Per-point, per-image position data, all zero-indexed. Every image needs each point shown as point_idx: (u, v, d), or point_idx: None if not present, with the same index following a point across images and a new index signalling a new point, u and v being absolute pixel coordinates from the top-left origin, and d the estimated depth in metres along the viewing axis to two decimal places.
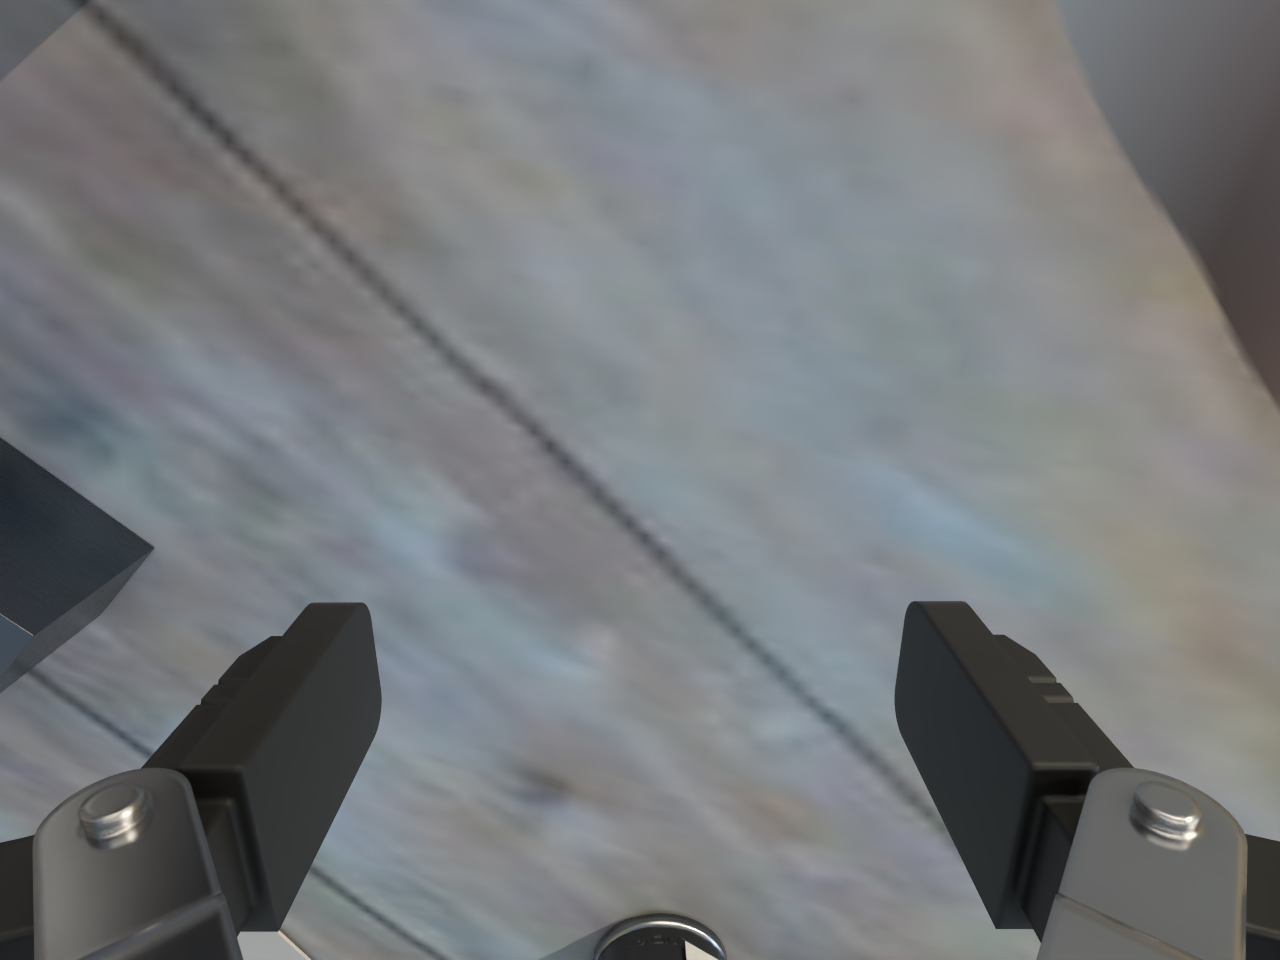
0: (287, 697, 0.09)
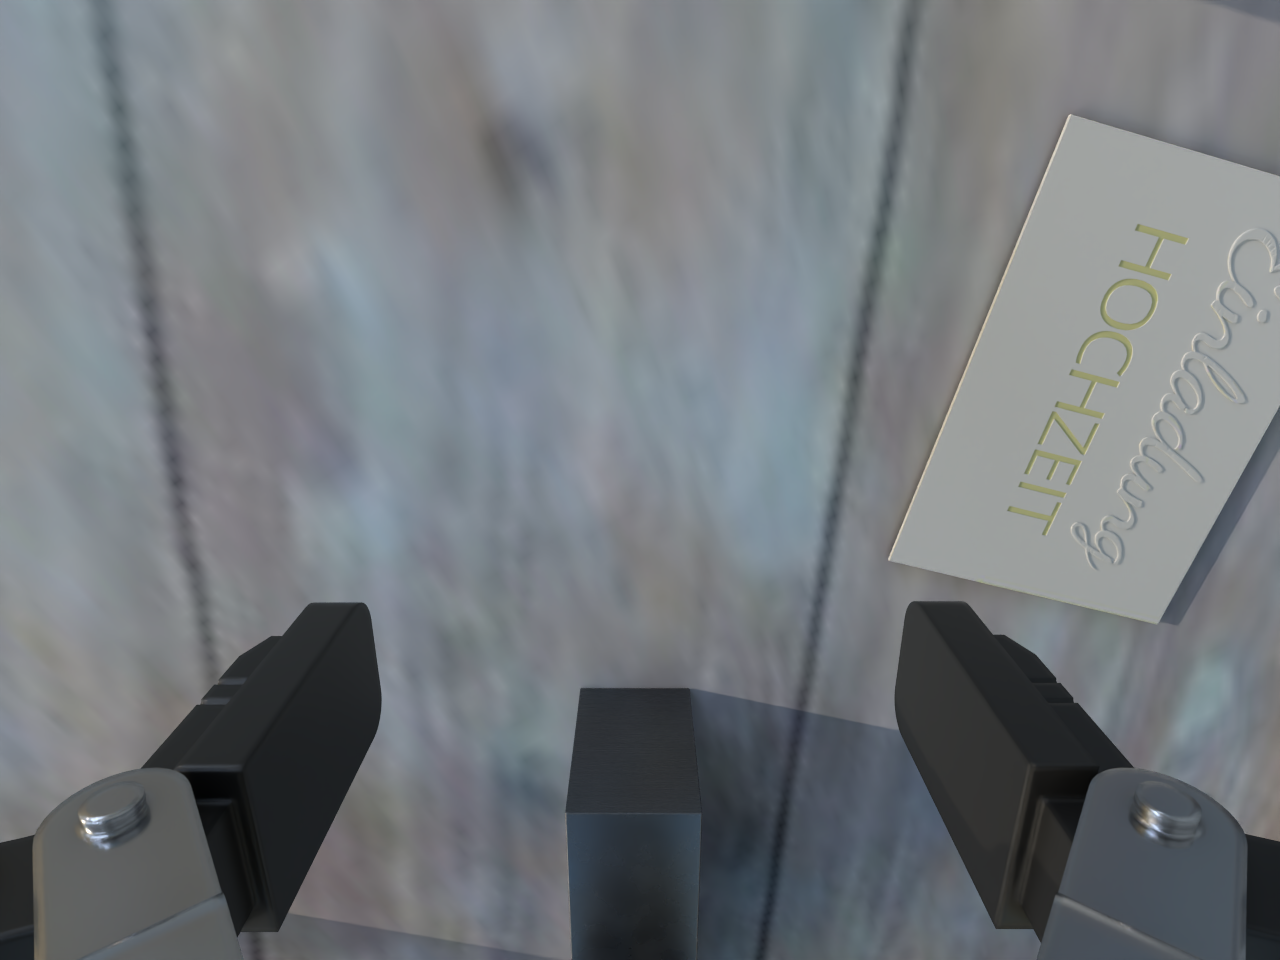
0: (287, 698, 0.09)
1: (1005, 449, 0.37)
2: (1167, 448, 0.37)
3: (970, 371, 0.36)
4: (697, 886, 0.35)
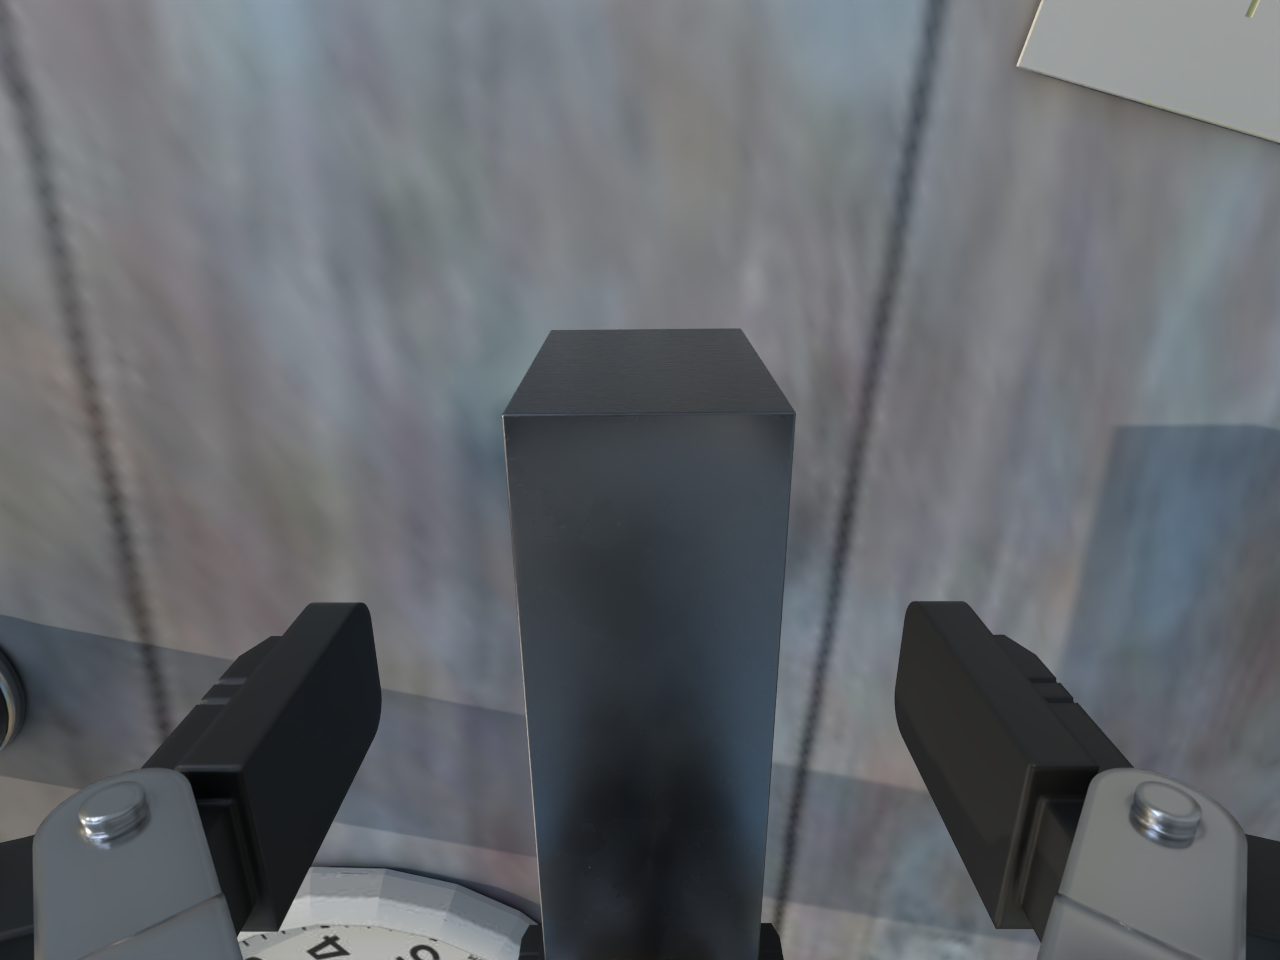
0: (287, 697, 0.09)
1: None
2: None
3: None
4: (779, 594, 0.17)
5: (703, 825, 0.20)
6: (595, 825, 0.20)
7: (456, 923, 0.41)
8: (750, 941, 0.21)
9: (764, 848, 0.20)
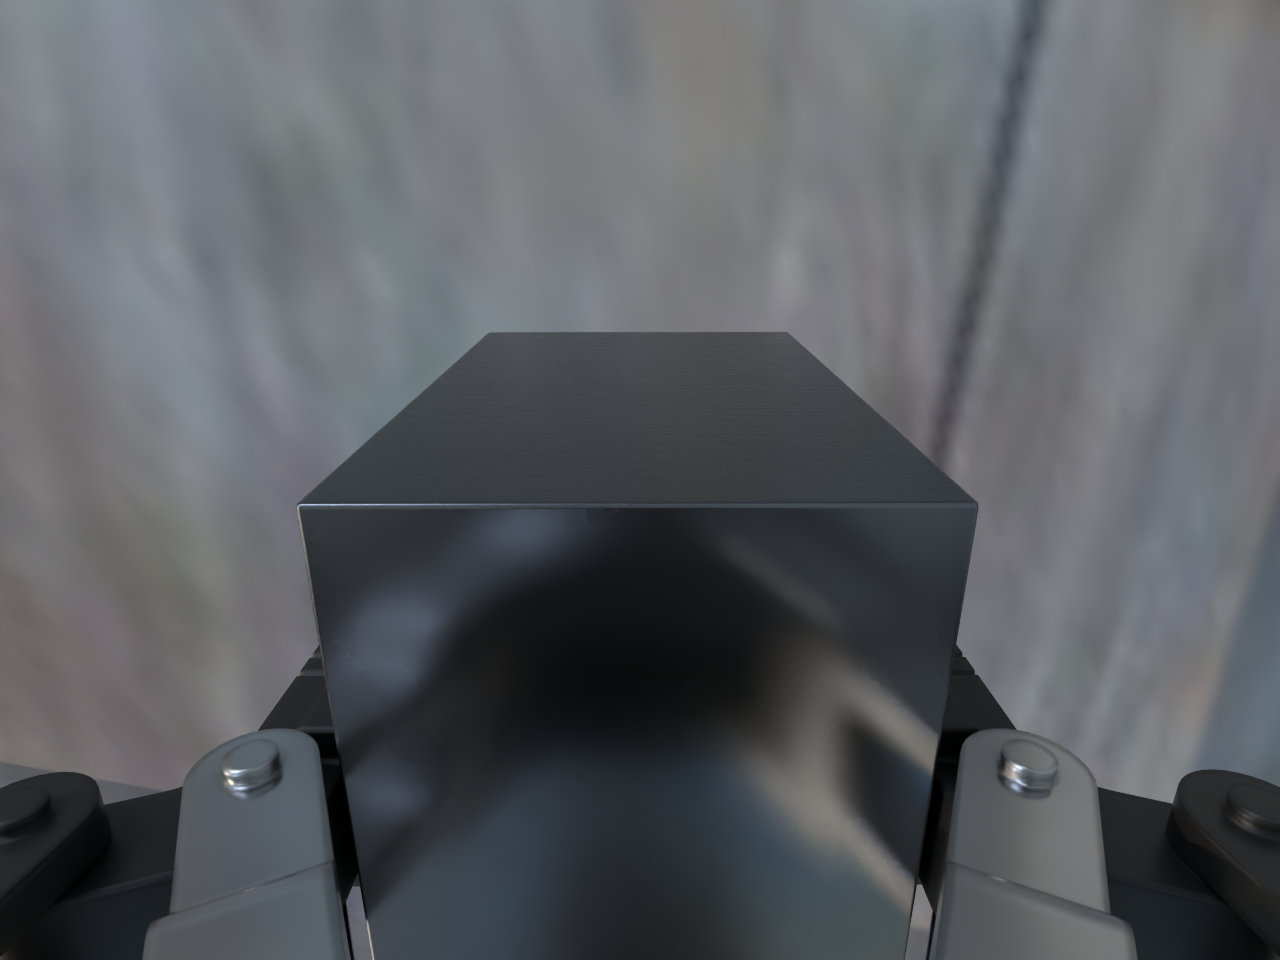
0: None
1: None
2: None
3: None
4: (912, 872, 0.08)
5: None
6: None
7: None
8: None
9: None
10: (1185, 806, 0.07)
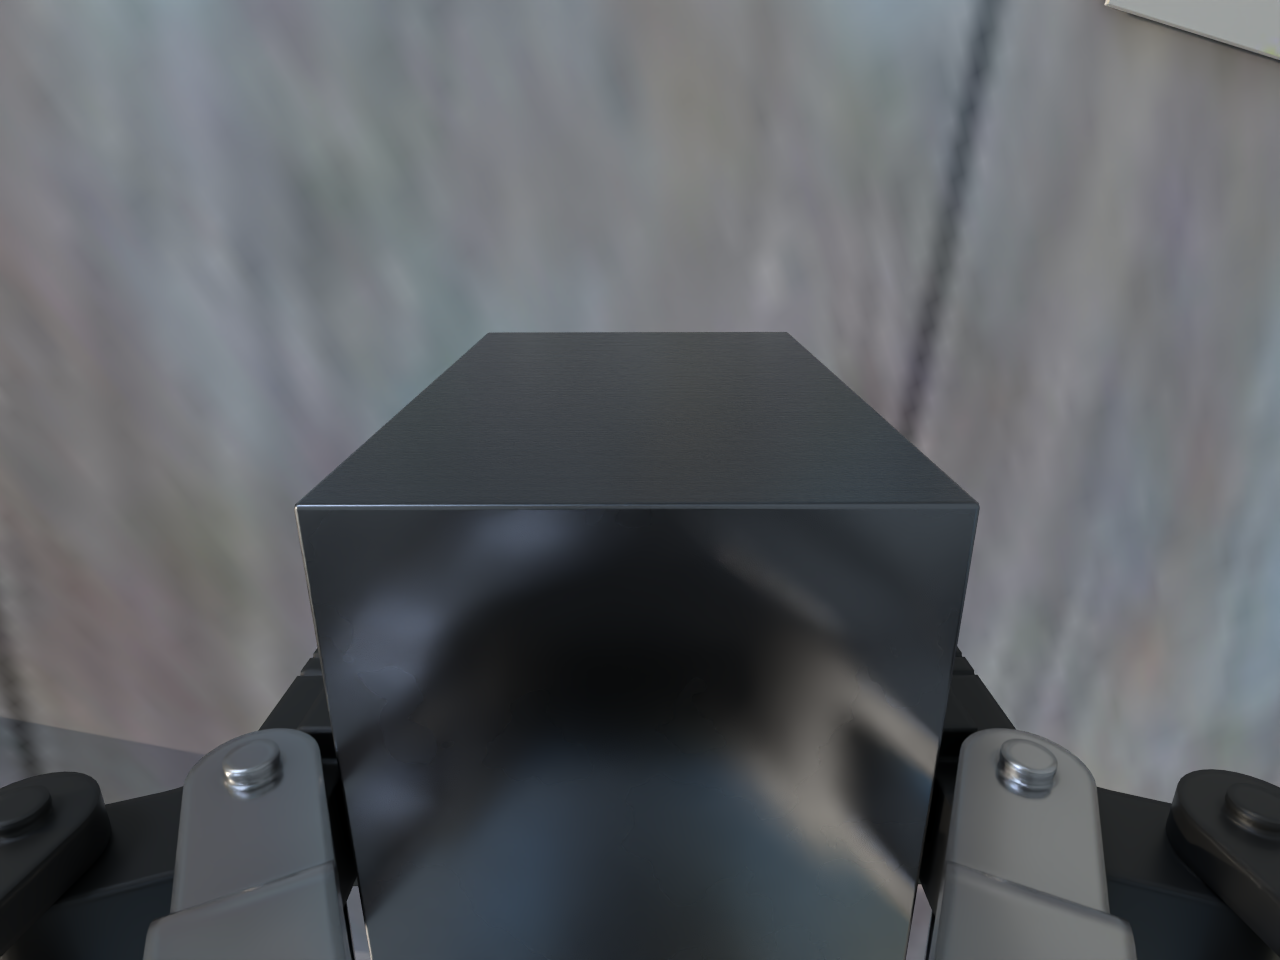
0: None
1: None
2: None
3: None
4: (913, 874, 0.08)
5: None
6: None
7: None
8: None
9: None
10: (1184, 806, 0.07)
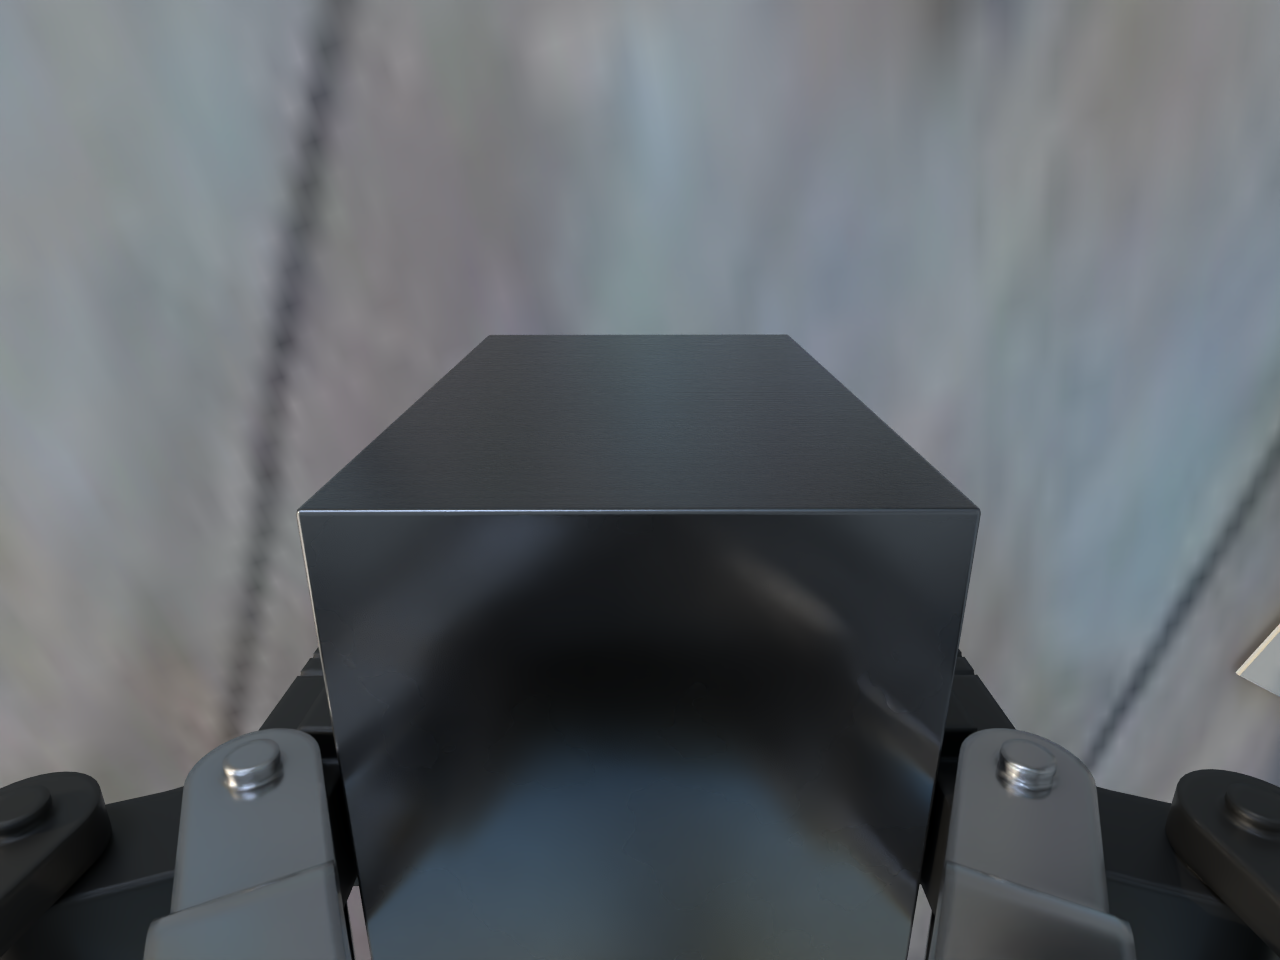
0: None
1: None
2: None
3: None
4: (914, 878, 0.08)
5: None
6: None
7: None
8: None
9: None
10: (1184, 806, 0.07)
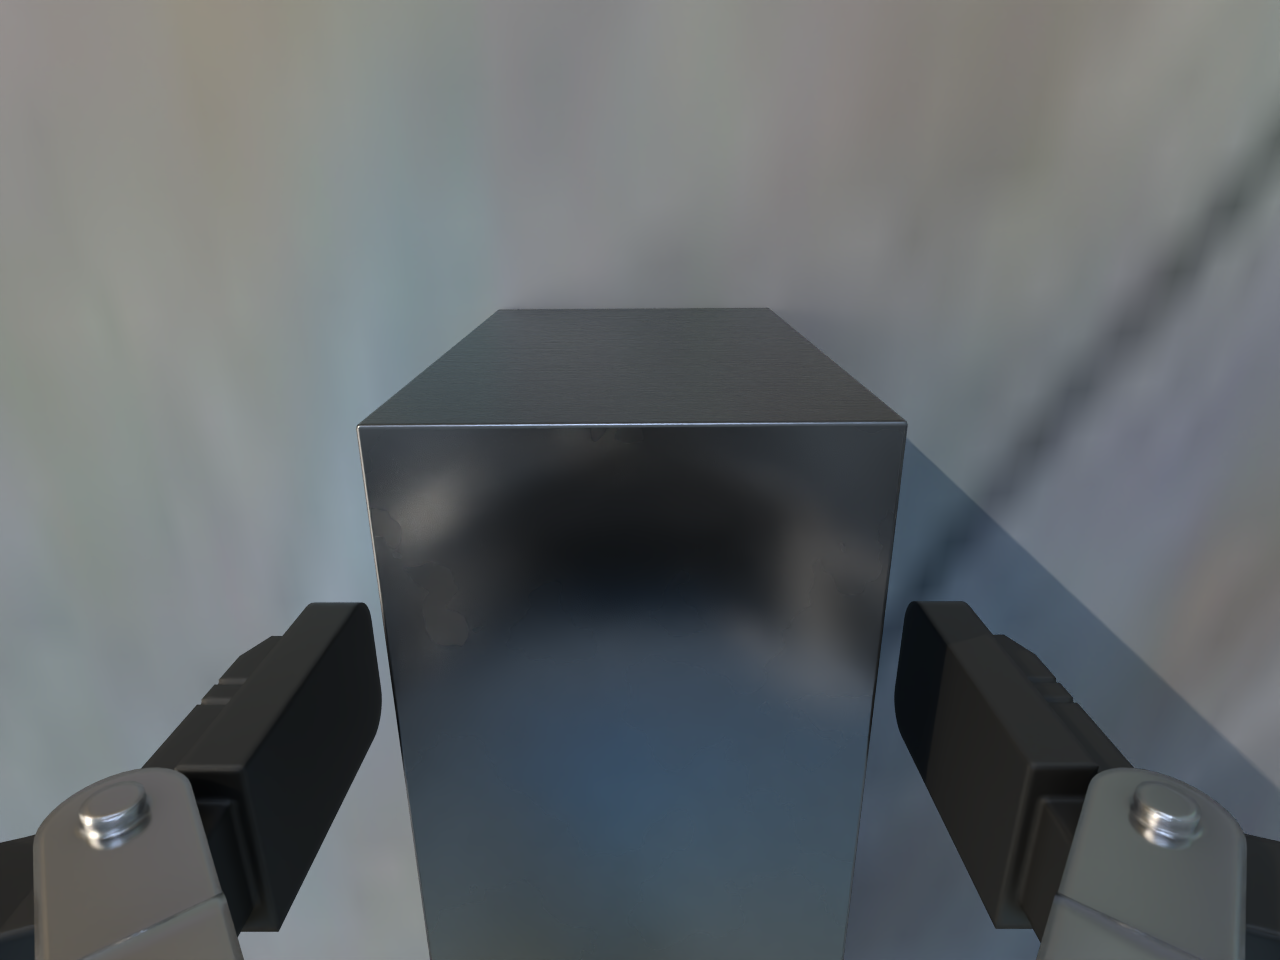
0: (287, 697, 0.09)
1: None
2: None
3: None
4: (864, 742, 0.10)
5: None
6: None
7: None
8: None
9: None
10: None
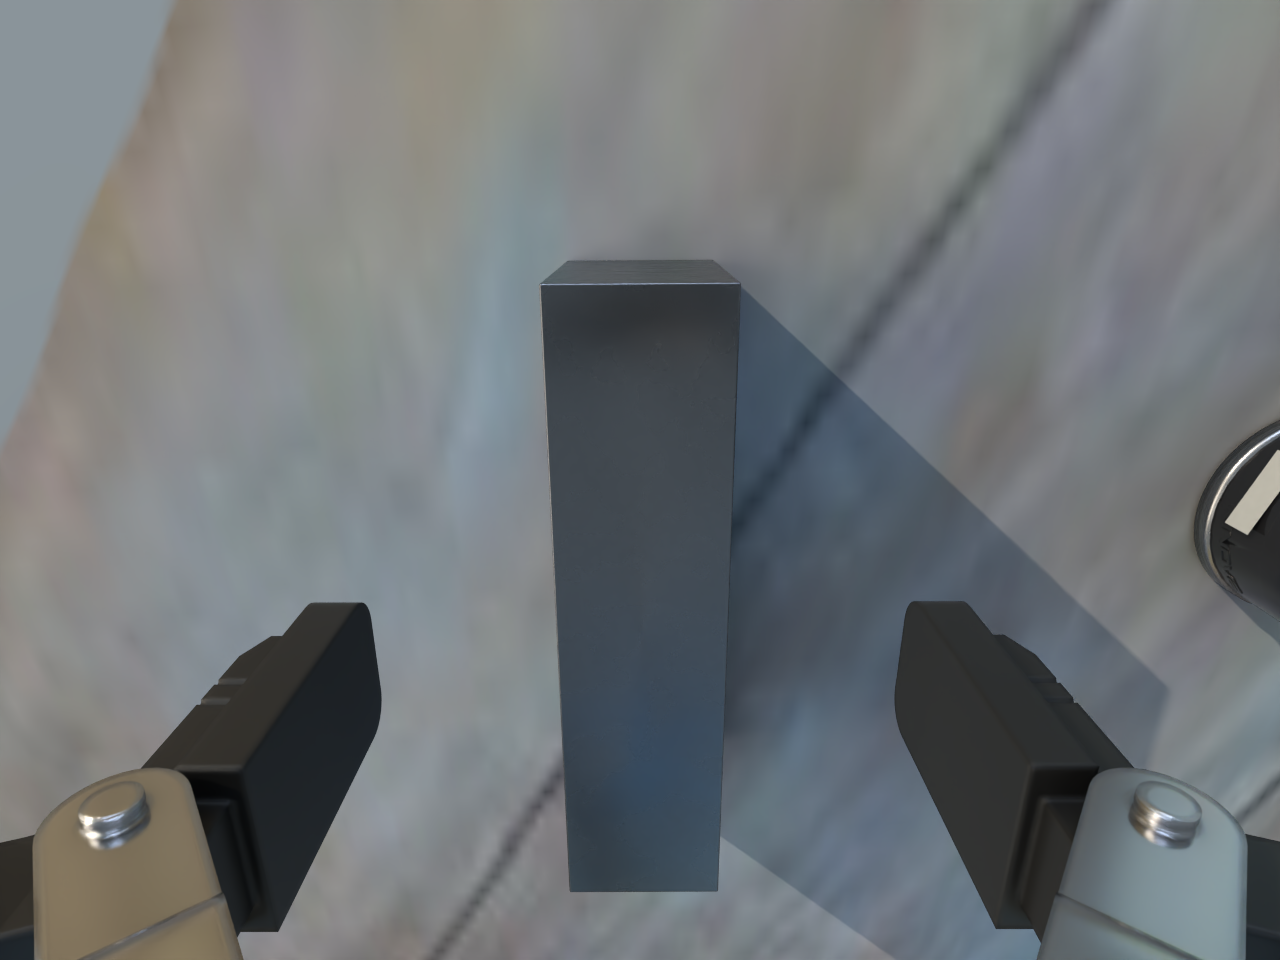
0: (287, 697, 0.09)
1: None
2: None
3: None
4: (733, 420, 0.24)
5: (681, 609, 0.26)
6: (600, 610, 0.26)
7: None
8: (717, 711, 0.28)
9: (726, 629, 0.27)
10: None
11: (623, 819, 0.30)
